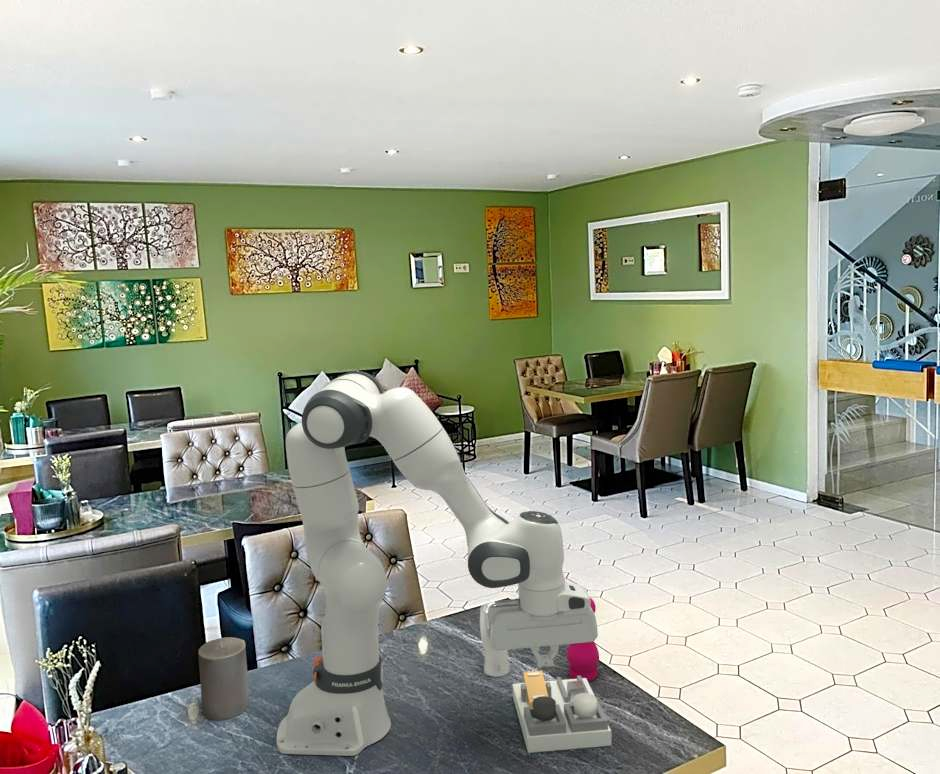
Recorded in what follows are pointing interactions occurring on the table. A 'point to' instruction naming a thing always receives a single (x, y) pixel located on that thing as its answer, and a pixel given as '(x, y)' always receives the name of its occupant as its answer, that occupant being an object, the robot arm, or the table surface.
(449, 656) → the table surface
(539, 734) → the console
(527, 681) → the amber rocker
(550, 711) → the black button
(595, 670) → the pepper mill
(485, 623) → the beer glass
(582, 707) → the white button
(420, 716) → the table surface
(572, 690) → the metal slider knob
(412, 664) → the table surface
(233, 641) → the pillar candle
